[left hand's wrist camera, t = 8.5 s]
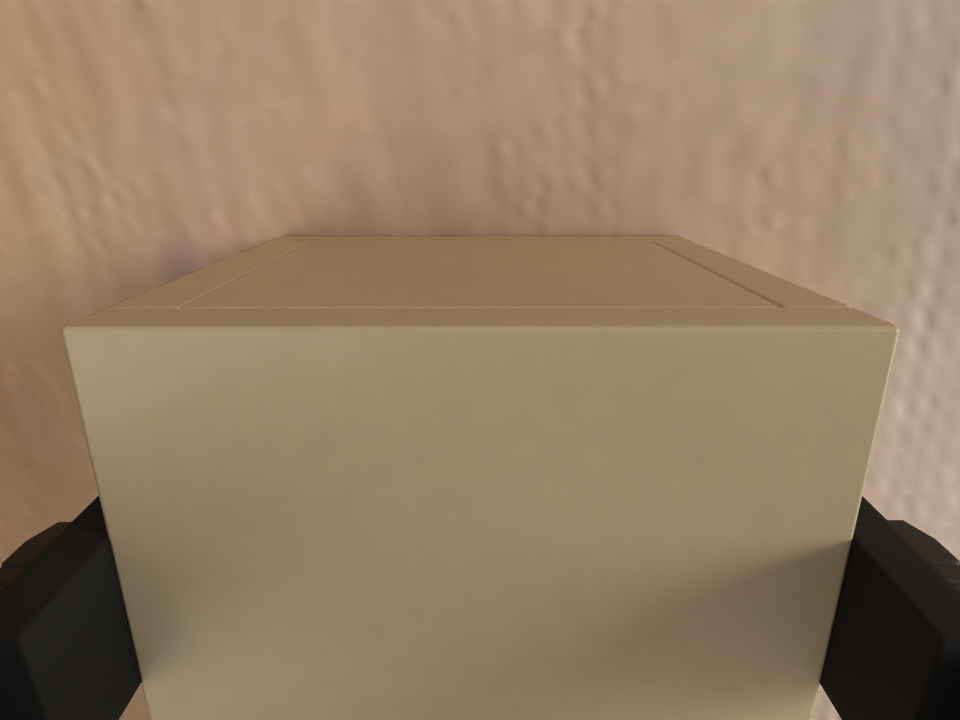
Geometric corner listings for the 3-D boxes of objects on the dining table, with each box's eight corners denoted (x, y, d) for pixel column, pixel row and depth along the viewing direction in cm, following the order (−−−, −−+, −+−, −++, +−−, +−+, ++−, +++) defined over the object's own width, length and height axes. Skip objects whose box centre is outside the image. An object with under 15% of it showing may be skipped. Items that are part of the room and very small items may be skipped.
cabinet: (631, 703, 22) (733, 1071, 13) (329, 703, 22) (228, 1070, 13) (680, 235, 17) (903, 326, 8) (281, 235, 17) (56, 326, 8)
